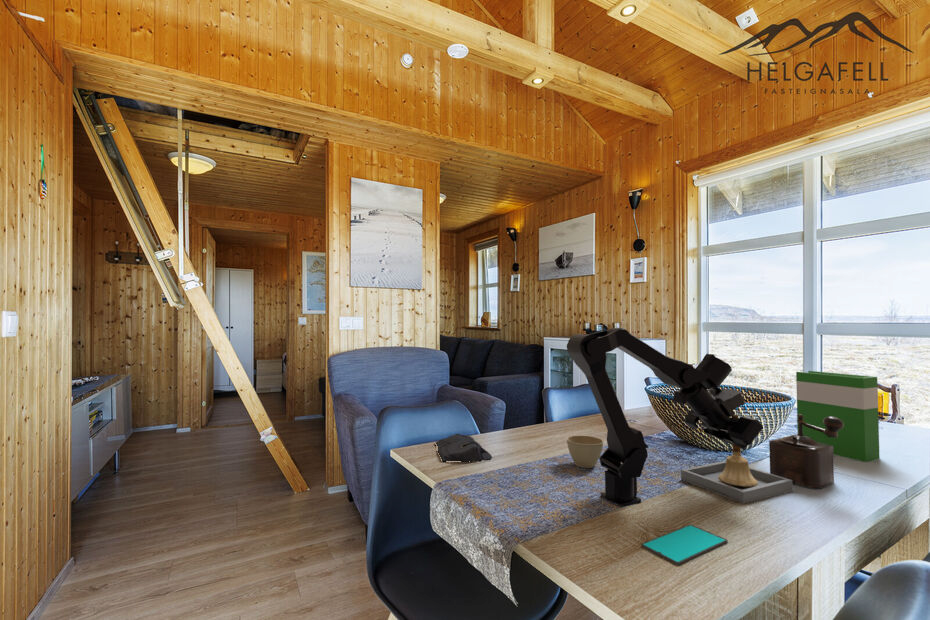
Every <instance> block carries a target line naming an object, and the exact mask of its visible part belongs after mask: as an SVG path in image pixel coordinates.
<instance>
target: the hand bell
mask: <svg viewBox="0 0 930 620" xmlns="http://www.w3.org/2000/svg"><path fill="white" fill-rule="evenodd" d="M732 417H736V418H740V417H739V415H738V414H734V415H733V416H732ZM741 452H742V449H741V448H740V447H738V446H736V445H734V444H733V445H732V454H731V455H730V456H727V457H726V459H725V461H726V466H725V469H724V471H723V472H722V473H721V474H720V475H719V476H718V479H719V480H720V481H722V482H725V483H728V484H731V485H736V486H744V487H753V486H757V485H758V482H757V480H756V479H754V477H753V476H752V474H751V472H750V470H749V467H750V466H749V461H748V459H747V458H745V457H743V456H742V453H741Z"/></svg>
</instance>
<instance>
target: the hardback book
mask: <svg viewBox="0 0 930 620" xmlns="http://www.w3.org/2000/svg"><path fill="white" fill-rule="evenodd" d="M795 373H796V375H795V376H796V377H795V379H796V419H797V420H798V417H797V416H798V415H799V414H801V415H803V417H804V418H803V420H804V422H805V423H807V424H809V425H813V426H816V427H819V428H822V429H824V430H825V429H826V427H825V425H824V423H823V419H824V418H826V417H829V416H834V417H837V418H839V419H840V420H842V421H843V423H844V426H843V428H842V429H841V430H839V431H838V432H837V435H838V437H837V438H833V437H828V436H827V435H825V434H824V433H823V432H820V431H817V430H814V429H811V428H808V427H806V426H804V425H803V434H804V436H807V437H810V438H812V439H814V440H815V441H816V442H819V443H823V444H828V445H832V446H833V456H839V457H843V458H847V459H850V460H855V461H859V462H864V463H869V462H872V461H873V462H874V461H876V460H880V459H881V458H880V428H879V427H880V426H879V425H880V424H879V423H880V422H879V396H878V395H879V394H878V393H879V391H878V389H879V388H878V376H870V375H861V374H860V375H859V374H858V375H857V374H850V373H849V374H848V373H838V372H827V371H826V372H825V371H816V370H808V371H807V372H806V371H795ZM797 420H796V426H797V428H796V429H797V432H798V422H797Z"/></svg>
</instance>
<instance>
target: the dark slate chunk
mask: <svg viewBox="0 0 930 620" xmlns="http://www.w3.org/2000/svg"><path fill="white" fill-rule="evenodd" d="M435 443H436V444H437V446H438V453H439V455H440V457H441V459H442V461H461V462H469V461H470V463H473V462H472V461H479V462H482V460H486V461H488V459H490V460H491V459H492V458H493V456H492V454H491V453H490V452H488V451H487V450H486V449H485V448H484V447H482V445H481V444H480V443H478V441H476V440H475V438H473V437H472V436H470V435H466V434H460V433H456V434H453V435H452V434H451V435H449V436H448V437H446V438H442V439H440V440H437V441H435ZM438 453H437V454H438Z"/></svg>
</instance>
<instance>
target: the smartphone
mask: <svg viewBox="0 0 930 620" xmlns="http://www.w3.org/2000/svg"><path fill="white" fill-rule="evenodd" d="M726 544H728V539H727V538H724V537H722V536H720V535H717V534H715V533H712V532H710V531H708V530H705V529H702V528H700V527H698V526H696V525H694V524H688V525H685V526H682V527H679V528H678V529H675V530H673V531H670V532H667V533H665V534H663V535H660V536H657V537H655V538H652V539H650V540H648V541H645V542H642V543H641V547H642V549H645V550H647V551H649V552H650V553H652V554H654V555H656V556H658V557H660V558H663V559H664V560H665V561H668V562H669V563H672V564H674V566H677V567H678V566H682V565H683V564H686V563H688V562H691V561H692V560H694V559H696V558H699V557H701V556H702V555H704V554H707V553H709V552H712V551H714V550H716V549H718V548H719V547H722V546H725V545H726Z"/></svg>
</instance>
